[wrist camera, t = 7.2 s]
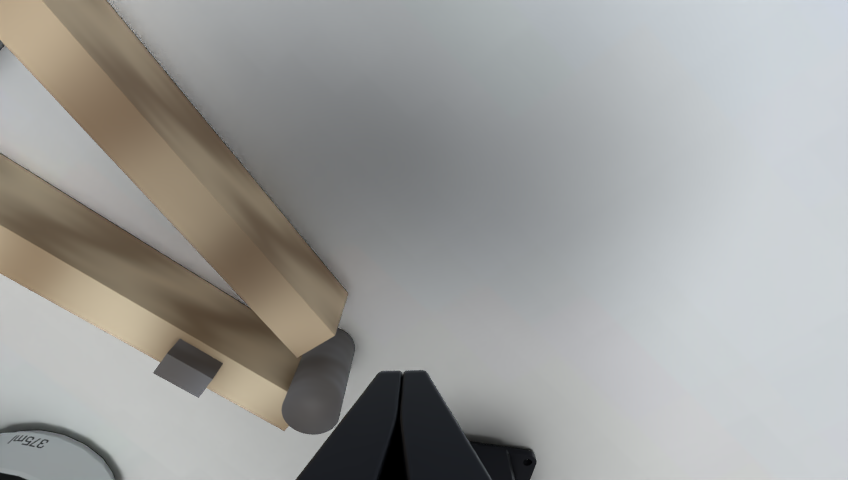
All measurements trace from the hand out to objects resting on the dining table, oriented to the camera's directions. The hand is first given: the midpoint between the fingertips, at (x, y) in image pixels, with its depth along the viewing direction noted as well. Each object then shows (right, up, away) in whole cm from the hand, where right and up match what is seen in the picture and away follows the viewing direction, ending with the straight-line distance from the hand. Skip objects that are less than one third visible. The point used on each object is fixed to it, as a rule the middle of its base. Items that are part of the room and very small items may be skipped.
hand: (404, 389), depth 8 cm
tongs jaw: (-10, +8, +10) cm, 16 cm away
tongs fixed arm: (-14, +3, +12) cm, 19 cm away
